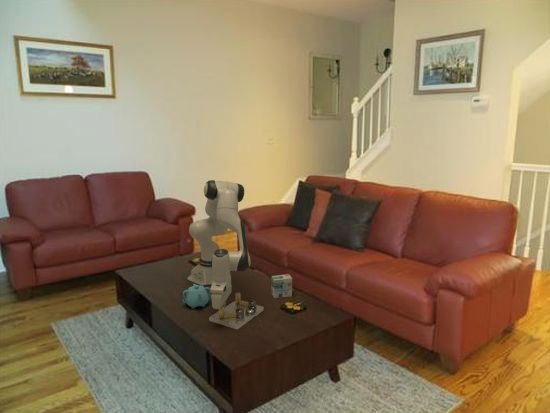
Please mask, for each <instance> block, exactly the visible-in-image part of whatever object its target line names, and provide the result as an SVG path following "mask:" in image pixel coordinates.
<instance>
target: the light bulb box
mask: <svg viewBox="0 0 550 413" xmlns="http://www.w3.org/2000/svg"><path fill="white" fill-rule="evenodd" d="M271 295H272V297H273V299H279V298H288V297H289V298H290V297H292V296H293V277H292V276H291V275H290V274H289V273H287V274H279V275H271Z"/></svg>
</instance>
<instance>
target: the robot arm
mask: <svg viewBox="0 0 550 413" xmlns="http://www.w3.org/2000/svg"><path fill="white" fill-rule="evenodd" d="M203 193H204V197H205V198H206V199H207V200H206V204H205V207H204V212H205V213H206V215H207V216H208V218H203V219H200V220H195V221H194V222H191V223H190V225H189V227H188V233H189V236H191V237H192V239H194V240H195V241H196V242H198V244H199V248H200V256H201V257H200V258H199V259H197V262H199V263H198V264H197V265H195V267H193V268H192V269H191V272H190V275H188V277H187V278H186V279H187V280H188V281H190V282H191V283H193V284H196V285H201V286H207V285H209V286H210V285H211V286H210V287H209V288H210V295H211V298H210V299H211V306H212V308H213V309H214V310H219V309H220V308H221V307H222V306H224V309H225V307H226V304H227V300H228V298H229V296H230V295H231V294H232V290H233V287H232V275H231V272H234V271H235V272H241V273H244V272H246V271H247V270H248V269H250V267H251V263H252V262H251V257H250V254H249V247H248V239H247V232H246V226H245V223H244V220H242V219H241V218H240V216H239V203H240V202H242V201H243V200H244V196H245V187H244V186H243V184H240V183H235V182H233V181H227V180H225V181H222V180H215V179H214V180H212V179H211V180H208V181H206V183H205V185H204V188H203ZM228 230H231V231H233V232H235V233H236V235H237V238H238V245H239V251H231V250H230V251H229V250H227V249H225V248H220V246H219V244H218V242H215V241H213V238H212V237H215V236H218V235H221V234H224V233H226V232H227V231H228Z"/></svg>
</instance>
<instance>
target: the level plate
mask: <svg viewBox="0 0 550 413" xmlns="http://www.w3.org/2000/svg"><path fill="white" fill-rule="evenodd" d="M238 308H242V309H244V316H243V317H241V318H238V317H228V318H223V319H220V318H219V310H218V311H216V312H215V313H214V314H212V315H210V316H209V318H208V321H209V322H210V323H211V322H212V323H215V324H218V325H221V326H224V327H228V328H230V329H234V330H237V331H238V330H240V328H242V327H243V326H244V325H246V324H247V323H249V322H250V321H251V320H252V319H254V318H256V317H257V316H259V314H261V313H262V312H264V308H265V306H261V305H258V304H256V308H254V309H250V308H249V307H248V306H244V305H240V304H236V300H235V301H232V302H231V303H229V304H228V305H225V309H224V313H235V312H236V310H235V309H238Z"/></svg>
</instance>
